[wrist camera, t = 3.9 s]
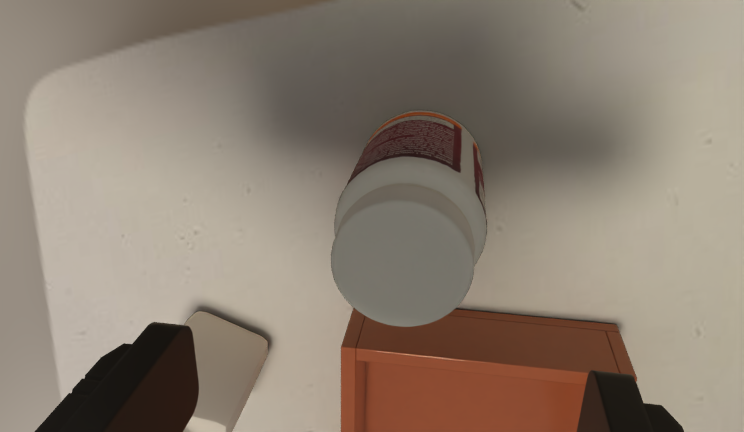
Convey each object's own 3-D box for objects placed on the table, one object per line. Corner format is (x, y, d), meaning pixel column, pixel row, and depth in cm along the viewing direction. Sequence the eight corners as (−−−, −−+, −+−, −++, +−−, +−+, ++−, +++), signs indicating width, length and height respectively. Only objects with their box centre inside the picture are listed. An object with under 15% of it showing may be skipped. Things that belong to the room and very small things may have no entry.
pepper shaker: (275, 336, 29) (194, 503, 21) (249, 395, 31) (164, 572, 22) (197, 302, 29) (81, 455, 20) (175, 363, 31) (60, 528, 22)
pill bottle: (339, 164, 25) (282, 261, 18) (423, 82, 23) (400, 151, 16) (421, 242, 26) (400, 367, 18) (508, 169, 24) (525, 274, 17)
